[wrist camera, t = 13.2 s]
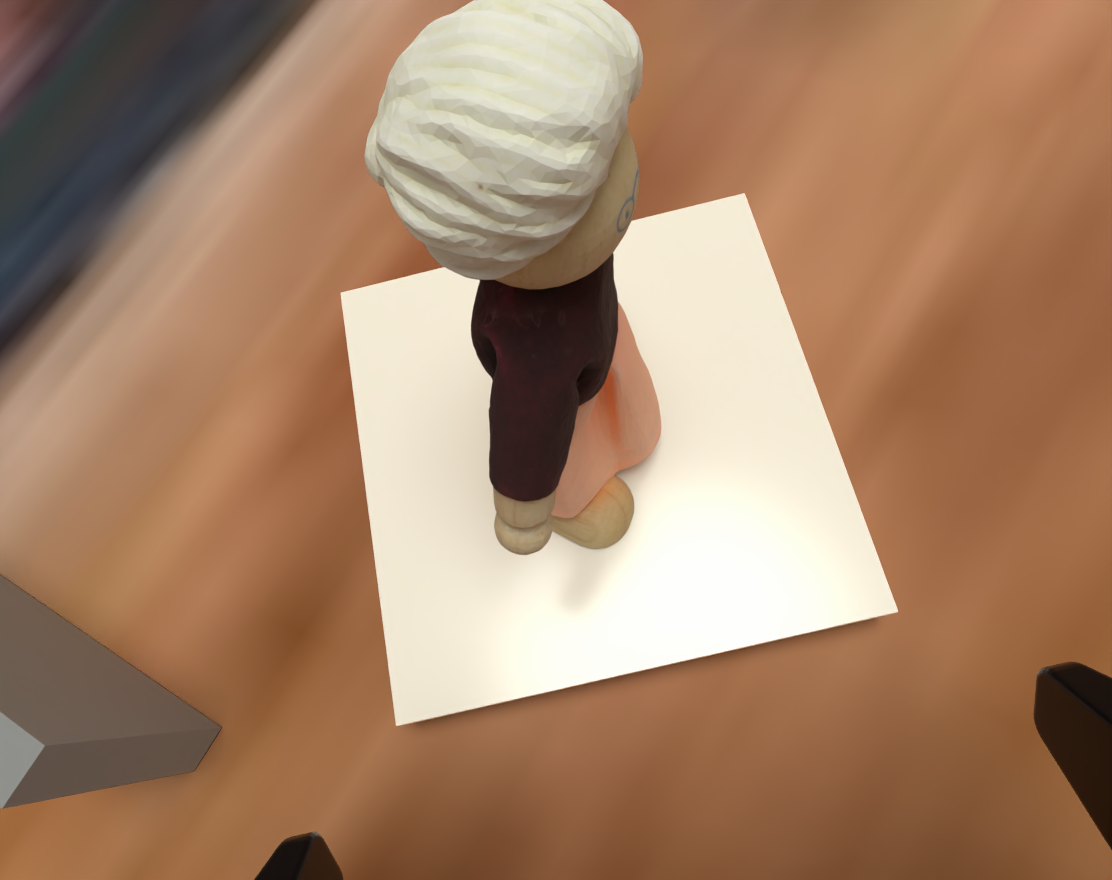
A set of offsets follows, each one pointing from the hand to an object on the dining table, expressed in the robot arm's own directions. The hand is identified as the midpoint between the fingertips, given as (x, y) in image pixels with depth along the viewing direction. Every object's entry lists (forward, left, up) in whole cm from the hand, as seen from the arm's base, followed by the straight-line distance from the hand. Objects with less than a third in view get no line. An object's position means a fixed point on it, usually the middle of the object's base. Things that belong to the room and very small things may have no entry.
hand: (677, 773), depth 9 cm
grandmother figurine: (+7, +3, -8) cm, 11 cm away
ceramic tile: (+7, +3, -9) cm, 12 cm away
